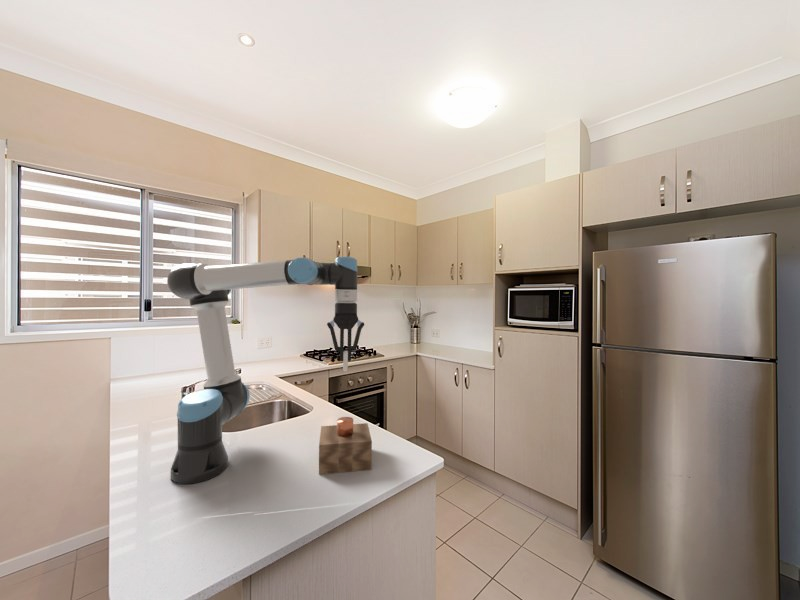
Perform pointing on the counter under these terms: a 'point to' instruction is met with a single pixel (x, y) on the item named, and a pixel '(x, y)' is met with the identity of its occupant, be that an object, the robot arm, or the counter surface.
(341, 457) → the hitch block
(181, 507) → the counter surface
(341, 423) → the copper cylinder with shaft
